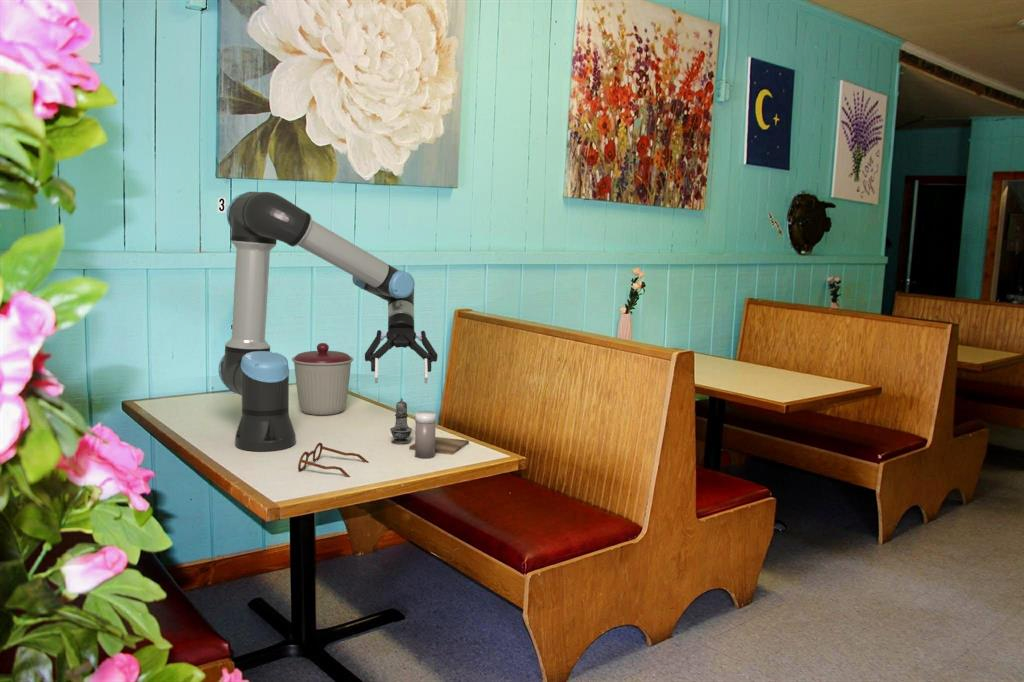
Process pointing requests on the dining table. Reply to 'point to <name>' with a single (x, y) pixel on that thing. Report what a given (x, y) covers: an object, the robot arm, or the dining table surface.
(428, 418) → the pepper shaker
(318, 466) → the glasses
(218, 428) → the dining table surface
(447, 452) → the walnut board
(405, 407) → the grey tiered figurine
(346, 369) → the canister
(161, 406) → the dining table surface
